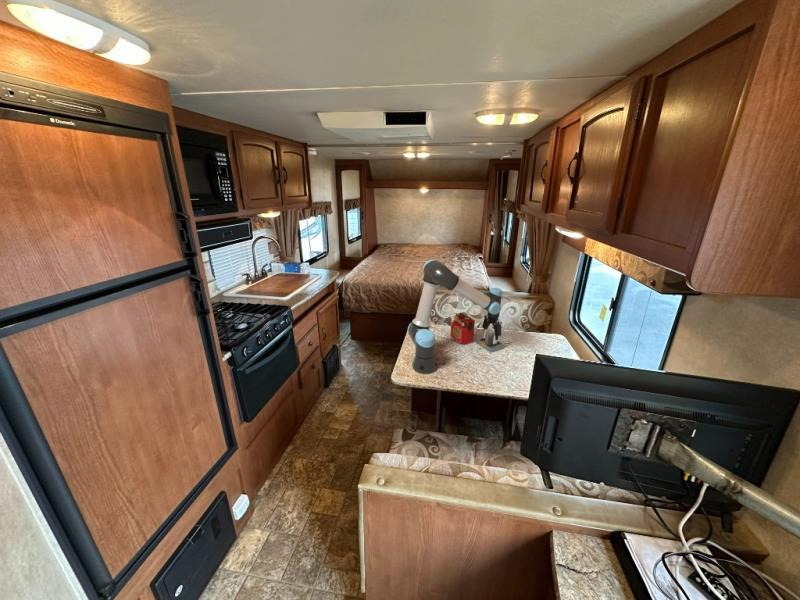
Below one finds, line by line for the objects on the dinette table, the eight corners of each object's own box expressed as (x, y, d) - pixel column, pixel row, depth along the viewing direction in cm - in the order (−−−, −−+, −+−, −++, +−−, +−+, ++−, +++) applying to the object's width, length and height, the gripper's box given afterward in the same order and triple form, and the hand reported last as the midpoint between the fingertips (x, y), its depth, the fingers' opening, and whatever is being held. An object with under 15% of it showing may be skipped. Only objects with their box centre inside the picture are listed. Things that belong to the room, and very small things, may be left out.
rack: (490, 352, 206) (491, 347, 204) (475, 343, 218) (476, 338, 216) (503, 348, 211) (504, 343, 209) (488, 339, 223) (489, 334, 222)
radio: (449, 336, 226) (450, 312, 219) (460, 333, 231) (462, 309, 223) (462, 346, 213) (465, 320, 206) (474, 343, 218) (476, 317, 210)
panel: (487, 346, 211) (488, 336, 208) (484, 345, 213) (485, 335, 210) (495, 344, 215) (496, 333, 212) (493, 342, 217) (494, 332, 214)
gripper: (510, 315, 197) (505, 346, 206) (486, 304, 215) (483, 333, 223) (501, 317, 194) (497, 348, 202) (478, 306, 211) (475, 335, 220)
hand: (490, 340), depth 213 cm, fingers open, 8 cm apart
